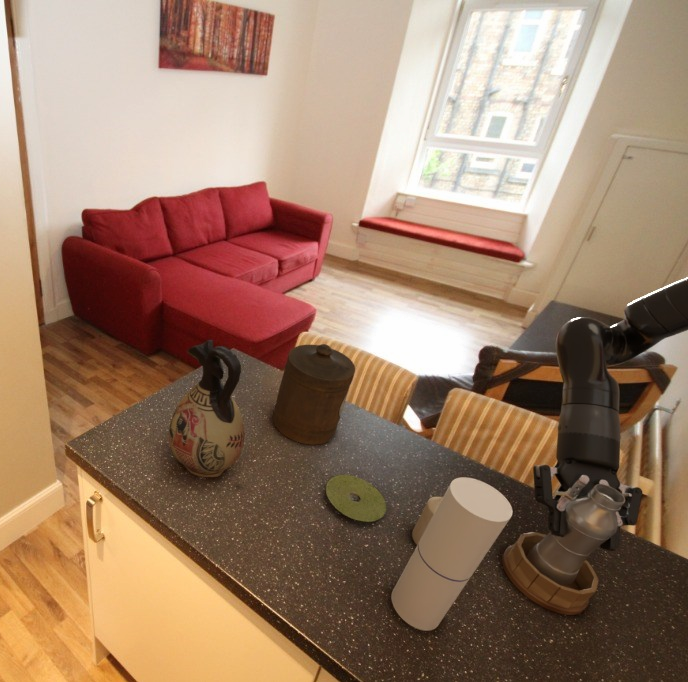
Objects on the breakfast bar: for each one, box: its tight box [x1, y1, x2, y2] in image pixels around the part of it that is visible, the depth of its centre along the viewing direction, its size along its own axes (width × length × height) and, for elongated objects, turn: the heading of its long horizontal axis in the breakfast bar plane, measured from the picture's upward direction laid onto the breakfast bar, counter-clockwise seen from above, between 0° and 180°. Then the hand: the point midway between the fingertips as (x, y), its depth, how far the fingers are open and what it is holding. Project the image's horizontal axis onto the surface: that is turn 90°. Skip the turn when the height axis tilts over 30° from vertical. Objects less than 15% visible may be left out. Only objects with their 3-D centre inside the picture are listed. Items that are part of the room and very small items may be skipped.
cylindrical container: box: [390, 476, 513, 632], centre depth 64 cm, size 7×7×25 cm
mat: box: [325, 474, 387, 523], centre depth 87 cm, size 11×11×2 cm
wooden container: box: [272, 343, 356, 445], centre depth 102 cm, size 15×15×22 cm
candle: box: [411, 496, 444, 546], centre depth 79 cm, size 6×6×10 cm
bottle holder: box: [501, 531, 600, 616], centre depth 75 cm, size 12×12×5 cm
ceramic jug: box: [168, 339, 246, 478], centre depth 86 cm, size 17×15×30 cm
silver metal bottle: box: [527, 484, 625, 587], centre depth 71 cm, size 6×7×20 cm
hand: (582, 542), depth 69 cm, fingers closed on silver metal bottle, 6 cm apart
